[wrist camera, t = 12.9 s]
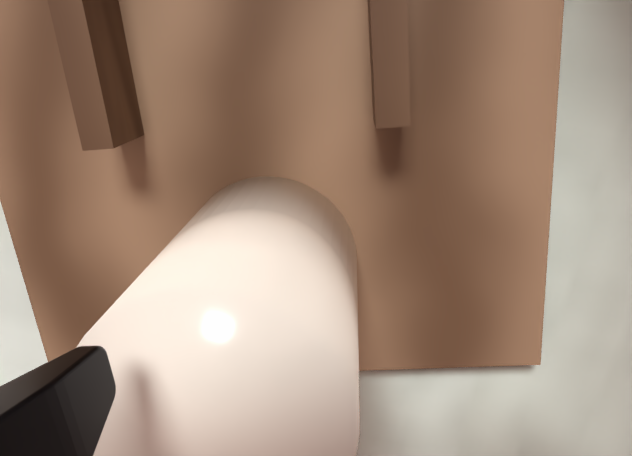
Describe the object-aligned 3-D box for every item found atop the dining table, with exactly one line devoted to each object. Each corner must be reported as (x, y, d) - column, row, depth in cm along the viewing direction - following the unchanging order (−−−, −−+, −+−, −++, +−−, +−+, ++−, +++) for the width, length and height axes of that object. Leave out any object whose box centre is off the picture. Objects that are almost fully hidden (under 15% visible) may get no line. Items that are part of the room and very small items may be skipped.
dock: (567, -262, 15) (629, -351, 11) (532, 350, 21) (564, 406, 18) (-87, -172, 17) (-196, -225, 13) (65, 367, 23) (18, 420, 20)
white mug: (174, 182, 19) (28, 296, 10) (351, 170, 18) (350, 280, 10) (214, 407, 22) (128, 633, 14) (366, 402, 21) (375, 637, 13)
